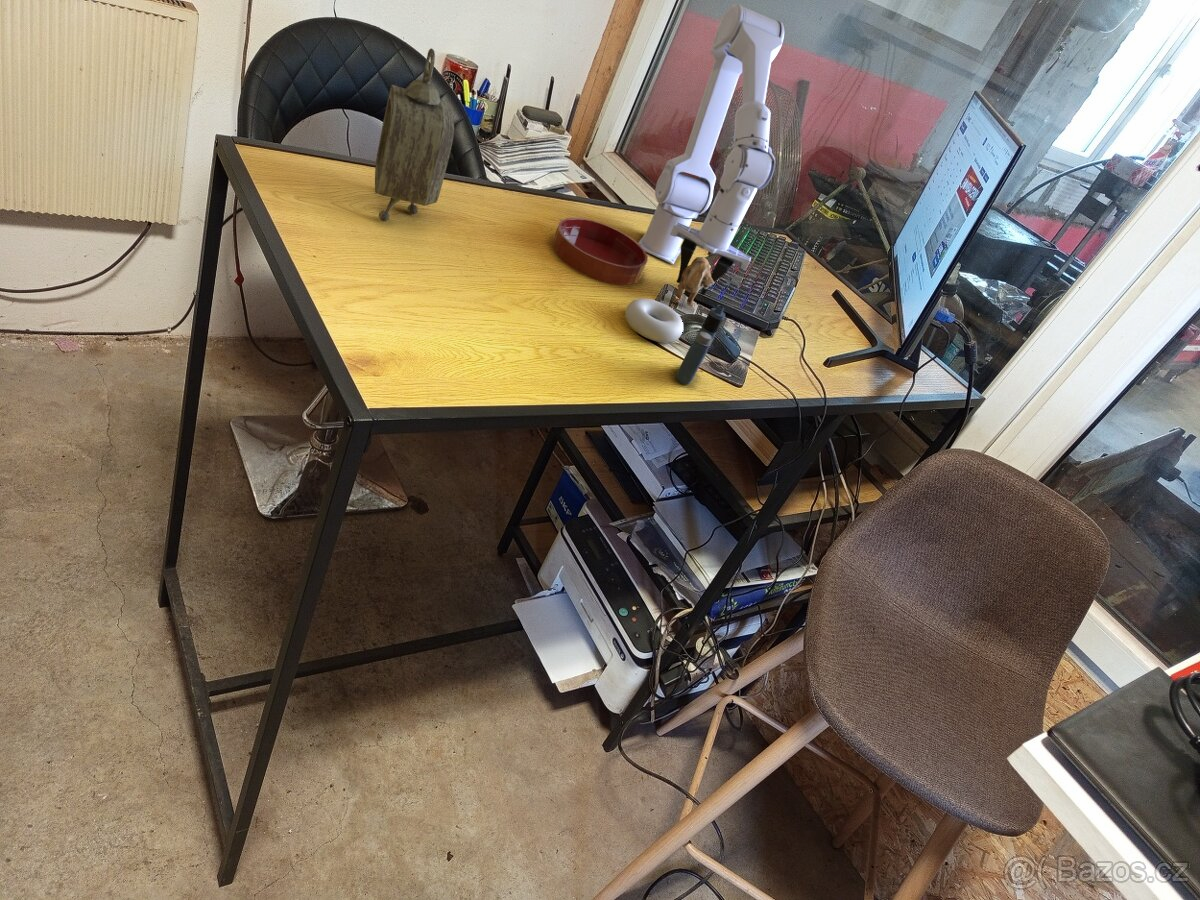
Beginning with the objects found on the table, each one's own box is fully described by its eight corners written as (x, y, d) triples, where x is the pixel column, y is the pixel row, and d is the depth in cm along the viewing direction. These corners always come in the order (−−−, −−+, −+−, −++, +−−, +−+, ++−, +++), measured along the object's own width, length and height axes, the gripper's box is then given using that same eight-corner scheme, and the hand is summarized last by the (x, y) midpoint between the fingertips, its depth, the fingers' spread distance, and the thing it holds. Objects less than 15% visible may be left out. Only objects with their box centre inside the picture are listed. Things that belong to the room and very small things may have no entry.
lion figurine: (699, 318, 134) (720, 273, 129) (670, 308, 134) (690, 261, 128) (700, 284, 146) (719, 241, 141) (674, 275, 146) (692, 231, 140)
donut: (616, 329, 122) (675, 354, 122) (624, 311, 120) (683, 336, 120) (627, 305, 130) (682, 328, 130) (634, 287, 128) (690, 311, 128)
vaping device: (695, 373, 120) (730, 308, 113) (688, 387, 115) (724, 320, 108) (680, 366, 120) (714, 300, 113) (672, 379, 115) (707, 312, 109)
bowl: (567, 225, 147) (574, 208, 145) (648, 264, 146) (655, 248, 144) (539, 252, 133) (545, 234, 131) (628, 295, 132) (636, 278, 130)
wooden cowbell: (370, 185, 129) (401, 27, 115) (425, 199, 132) (461, 47, 118) (371, 223, 118) (405, 55, 104) (429, 238, 122) (470, 77, 108)
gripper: (682, 205, 128) (650, 276, 136) (760, 243, 128) (724, 312, 136) (688, 195, 134) (658, 264, 142) (764, 231, 134) (729, 298, 142)
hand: (690, 286), depth 139 cm, fingers closed on lion figurine, 4 cm apart
